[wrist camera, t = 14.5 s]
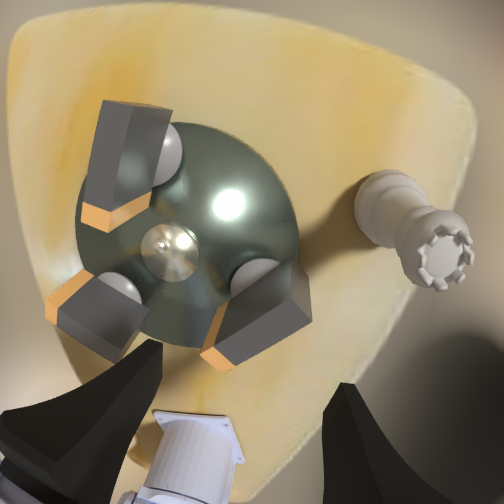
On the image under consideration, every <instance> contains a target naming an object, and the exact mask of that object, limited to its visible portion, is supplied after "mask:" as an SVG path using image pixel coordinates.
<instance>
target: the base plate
mask: <svg viewBox="0 0 504 504" xmlns="http://www.w3.org/2000/svg"><path fill="white" fill-rule="evenodd" d="M171 124H172V125H173V126H174V127H175V128H176V130H177V131H178V133H179V135H180V137H181V140H182V145H183V157H182V161H181V164H180V166H179V168H178V170H177V172H176V173H175V174H174V176H173V177H172V178H171V179H169V180H168V181H166V182H165V183H163V184H161V185H158V186H154V187H152V193H151V197H150V202H149V206H148V208H147V209H145V210H143V211H142V212H140V213H138V214H137V215H135V216H134V217H132V218H130V219H129V220H127V221H126V222H124V223H123V224H121V225H119V226H118V227H116V228H115V229H113V230H112V231H110V232H109V233H107V232H104V231H102V230H99V229H97V228H95V227H92V226H90V225H87V224H85V223H82V222H81V214H82V205H83V202H84V194H85V186H86V180H87V176H86V178H85V179H84V182H83V184H82V187H81V190H80V193H79V197H78V202H77V207H76V217H75V228H76V239H77V245H78V250H79V253H80V257H81V260H82V263H83V265H84V268H85V270H86V271H88V272H89V273H91V274H92V275H94V276H95V277H96V278H97V277H98V276H100V275H101V274H102V273H104V272H108V271H112V272H117V273H120V274H122V275H124V276H126V277H127V278H128V279H130V280H131V281H132V282H133V283H134V285H135V286H136V287H137V289H138V291H139V292H140V295H141V298H142V304H143V305H144V306H145V307H147V308H149V309H150V311H149V314H148V317H147V319H146V322H145V325H144V326H143V328H142V329H141V332H143V333H145V334H147V335H149V336H151V337H153V338H155V339H158V340H161V341H163V342H167V343H170V344H174V345H179V346H185V347H198V348H202V346H203V344H204V341H205V339H206V336H207V334H208V331H209V329H210V326H211V324H212V321H213V319H214V316H215V314H216V311H217V309H218V307H220V306H221V305H223V304H224V303H226V302H227V301H228V300H231V299H232V295H231V282H232V279H233V276H234V274H235V273H236V271H237V270H238V268H239V267H240V266H242V265H243V264H244V263H246V262H248V261H250V260H253V259H257V258H270V259H274V260H277V261H280V262H284V261H285V260H286V259H288V258H289V257H292V258H293V259H294V260H295V261H296V262H297V264H298V262H299V230H298V224H297V219H296V214H295V211H294V208H293V205H292V202H291V199H290V196H289V194H288V192H287V190H286V188H285V186H284V184H283V183H282V181H281V180H280V178H279V177H278V175H277V174H276V172H275V171H274V169H273V168H272V167H271V166H270V165H269V164H268V163H267V161H266V160H265V159H264V158H263V157H262V156H261V155H260V154H259V153H257V152H256V151H255V150H254V149H253V148H251V147H250V146H249V145H248V144H246V143H244V142H243V141H241V140H240V139H238V138H236V137H235V136H233V135H231V134H229V133H226V132H224V131H222V130H219V129H217V128H213V127H209V126H205V125H202V124H193V123H183V122H174V123H171Z"/></svg>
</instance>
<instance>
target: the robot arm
mask: <svg viewBox="0 0 504 504" xmlns="http://www.w3.org/2000/svg"><path fill="white" fill-rule="evenodd" d="M162 359H163V343H161V342H158V341H154V340H151V339H147V340H146V341H144V342H143V343H142V344H141V345H140V346H138V347H137V348H136V349H135V350H134V351H132V352H131V353H130V354H129V355H127V356H126V357H125V358H123V359H122V360H121V361H119V362H118V363H117V364H115V365H114V366H112V367H111V368H110V369H108V370H107V371H105V372H104V373H102V374H100V375H99V376H97V377H96V378H94V379H93V380H91V381H89V382H87V383H86V384H84V385H82V386H80V387H78V388H76V389H74V390H72V391H70V392H68V393H65V394H63V395H61V396H59V397H56V398H53V399H51V400H48V401H45V402H41V403H38V404H35V405H32V406H28V407H22V408H17V409H12V410H6V411H4V412H3V413H2V414H1V415H0V451H1V452H2V454H3V455H4V456H5V458H4V459H3V461H1V460H0V504H110V500H111V496H112V493H113V490H114V487H115V484H116V481H117V478H118V474H119V472H120V469H121V466H122V463H123V461H124V458H125V455H126V453H127V450H128V447H129V445H130V443H131V441H132V438H133V436H134V435H135V433H136V431H137V429H138V427H139V425H140V423H141V422H142V420H143V418H144V416H145V414H146V412H147V410H148V409H149V407H150V405H151V403H152V401H153V399H154V397H155V395H156V392H157V390H158V387H159V384H160V382H161V379H162ZM153 415H154V417H155V418H156V420H157V422H158V423H159V425H160V427H161V428H162V430H163V431H164V434H163V437H162V439H161V442H160V444H159V447H158V449H157V452H156V455H155V457H154V460H153V462H152V465H151V467H150V470H149V473H148V475H147V478H146V480H145V483H144V485H143V486H140V489H139V491H138V494H137V492H135V491H133V490H131V491H129V492H126V493H124V494H123V495H122V496H121V498H120V500H119V502H118V504H228V502H229V498H230V493H231V488H232V483H233V478H234V473H235V467H236V464H243V463H245V458H244V455H243V453H242V450H241V448H240V445H239V442H238V440H237V437H236V434H235V432H234V429H233V426H232V423H231V421H230V419H229V418H228V417H225V416H208V415H194V414H182V413H172V412H163V411H154V414H153ZM322 446H323V463H324V495H323V504H454V503H453V501H452V500H450V499H448V498H447V497H445V496H444V495H442V494H441V493H439V492H438V491H437V490H435V489H434V488H433V487H431V486H430V485H429V484H427V483H426V482H425V481H424V480H423V479H422V478H421V477H420V476H419V475H418V474H417V473H416V472H415V471H414V470H413V469H411V467H410V466H409V465H408V464H407V463H406V462H405V461H404V460H403V459H402V458H401V456H400V455H399V454H398V453H397V451H396V450H395V449H394V448H393V446H392V445H391V444H390V442H389V441H388V439H387V438H386V436H385V435H384V434H383V432H382V431H381V429H380V427H379V426H378V424H377V423H376V421H375V419H374V418H373V416H372V414H371V413H370V411H369V409H368V407H367V406H366V404H365V402H364V400H363V399H362V397H361V395H360V393H359V391H358V390H357V388H356V386H355V384H349V383H342V382H341V383H340V384H339V386H338V388H337V390H336V391H335V393H334V395H333V397H332V398H331V400H330V402H329V403H328V405H327V407H326V408H325V410H324V412H323V421H322Z"/></svg>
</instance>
